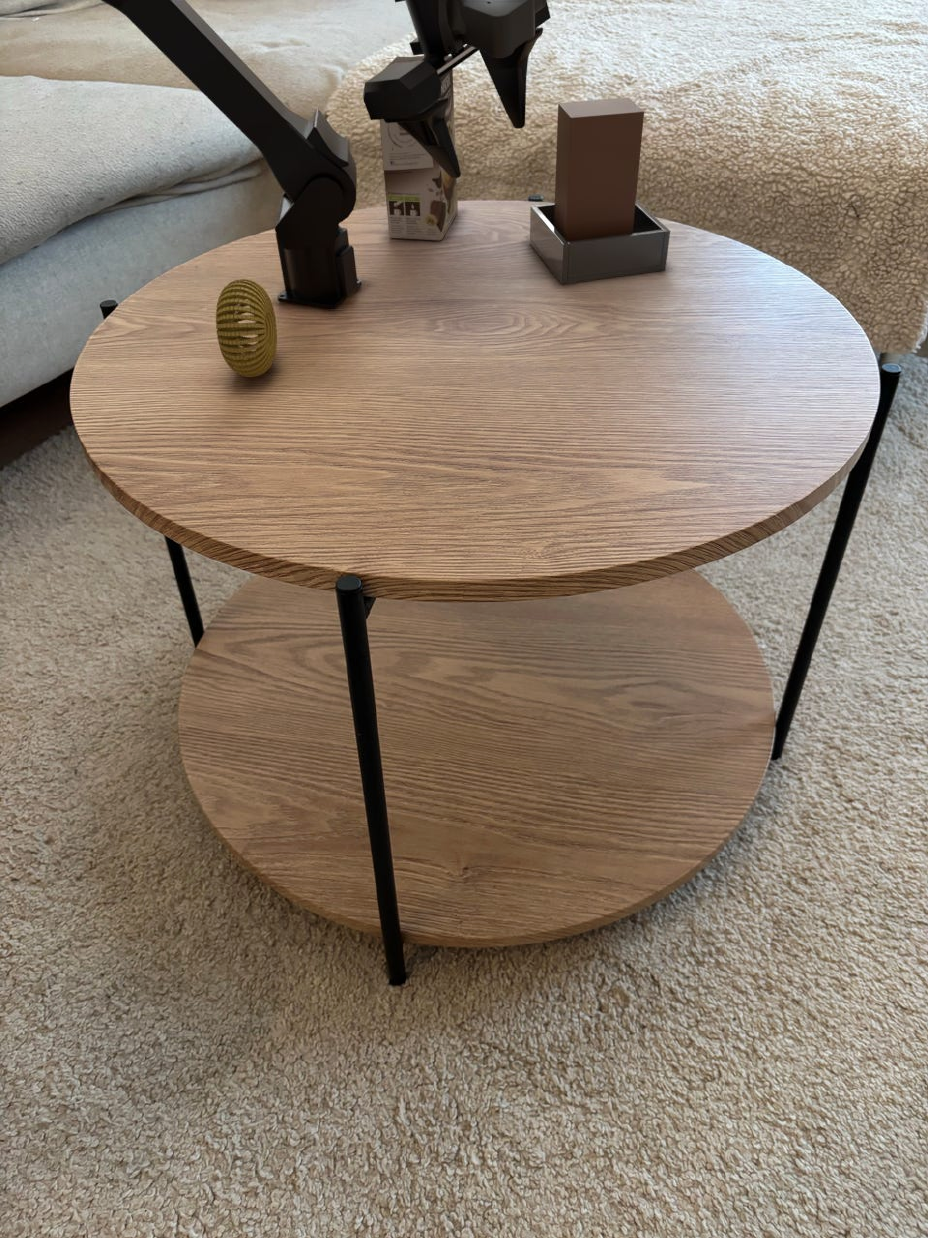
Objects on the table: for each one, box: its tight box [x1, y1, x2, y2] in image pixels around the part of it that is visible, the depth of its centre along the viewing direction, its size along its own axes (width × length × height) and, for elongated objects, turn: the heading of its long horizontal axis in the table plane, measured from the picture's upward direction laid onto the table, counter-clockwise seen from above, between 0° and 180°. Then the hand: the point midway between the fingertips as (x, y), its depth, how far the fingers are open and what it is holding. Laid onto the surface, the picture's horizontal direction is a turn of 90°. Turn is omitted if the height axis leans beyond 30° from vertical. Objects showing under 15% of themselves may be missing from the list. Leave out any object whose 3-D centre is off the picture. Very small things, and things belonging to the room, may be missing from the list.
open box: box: [529, 199, 671, 285], centre depth 95 cm, size 11×11×4 cm
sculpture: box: [215, 278, 278, 378], centre depth 77 cm, size 8×4×8 cm, turn 179°
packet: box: [554, 97, 645, 242], centre depth 90 cm, size 7×5×14 cm
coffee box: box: [378, 55, 459, 242], centre depth 98 cm, size 9×6×16 cm
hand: (488, 151), depth 83 cm, fingers open, 9 cm apart
